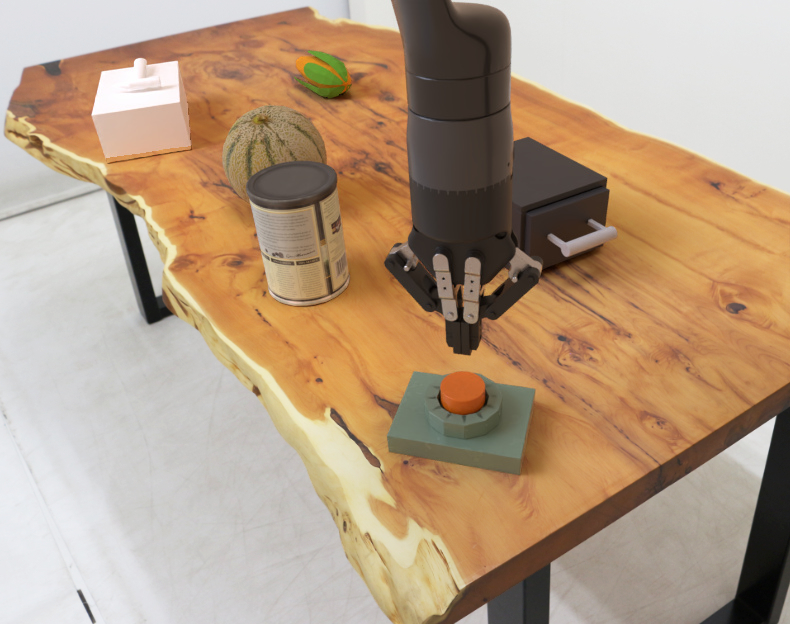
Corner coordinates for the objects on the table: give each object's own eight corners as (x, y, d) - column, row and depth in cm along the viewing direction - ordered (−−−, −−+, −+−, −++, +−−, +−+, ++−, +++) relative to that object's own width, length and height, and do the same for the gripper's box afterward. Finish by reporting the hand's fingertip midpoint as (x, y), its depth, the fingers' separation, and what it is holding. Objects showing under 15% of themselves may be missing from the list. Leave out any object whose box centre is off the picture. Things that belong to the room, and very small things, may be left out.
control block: (534, 405, 69) (536, 373, 66) (520, 476, 62) (521, 444, 59) (414, 386, 72) (412, 356, 69) (388, 452, 65) (384, 421, 63)
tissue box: (107, 163, 123) (86, 101, 117) (115, 114, 143) (98, 59, 136) (191, 149, 125) (176, 88, 119) (188, 103, 145) (174, 48, 139)
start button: (488, 388, 66) (489, 374, 65) (480, 418, 63) (480, 404, 62) (446, 382, 67) (446, 368, 66) (436, 411, 64) (435, 397, 63)
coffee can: (268, 266, 92) (247, 165, 84) (347, 256, 93) (334, 155, 85) (266, 312, 84) (243, 205, 76) (353, 301, 85) (339, 194, 76)
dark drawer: (627, 261, 86) (636, 203, 81) (551, 291, 82) (555, 232, 77) (532, 201, 100) (534, 149, 95) (463, 225, 96) (462, 171, 91)
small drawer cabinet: (599, 246, 91) (607, 177, 85) (518, 277, 86) (521, 207, 81) (525, 200, 102) (528, 136, 96) (450, 225, 98) (448, 160, 92)
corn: (326, 66, 133) (278, 45, 147) (328, 106, 138) (281, 82, 151) (359, 60, 137) (309, 39, 150) (361, 99, 141) (312, 76, 155)
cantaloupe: (319, 174, 114) (306, 81, 105) (343, 215, 102) (330, 113, 93) (227, 193, 110) (205, 98, 101) (241, 237, 99) (217, 134, 90)
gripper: (356, 180, 50) (378, 366, 61) (546, 193, 47) (535, 389, 57) (388, 137, 56) (403, 314, 66) (559, 146, 52) (547, 332, 62)
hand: (464, 348), depth 61 cm, fingers closed
